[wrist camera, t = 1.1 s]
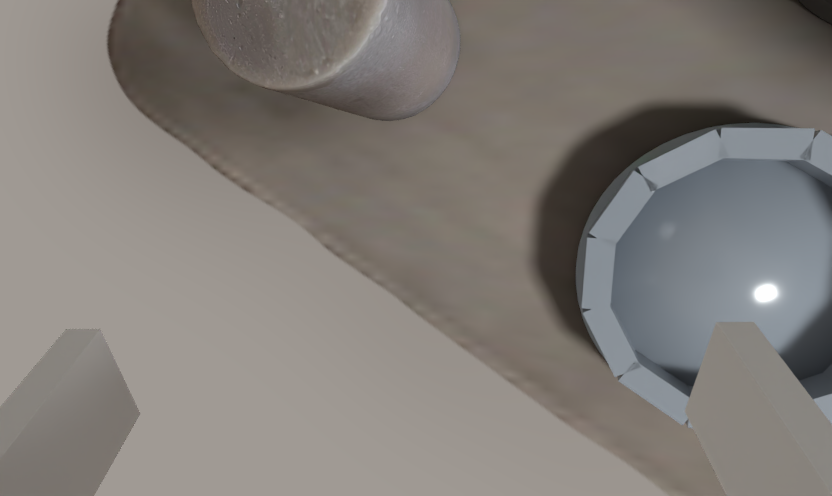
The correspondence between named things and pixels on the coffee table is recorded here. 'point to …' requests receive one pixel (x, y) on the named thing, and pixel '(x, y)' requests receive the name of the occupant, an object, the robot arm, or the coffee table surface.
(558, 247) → the coffee table surface
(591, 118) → the coffee table surface
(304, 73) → the pillar candle
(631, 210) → the candle dish
